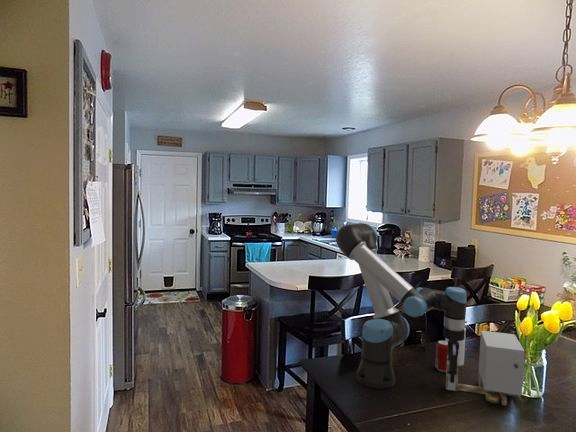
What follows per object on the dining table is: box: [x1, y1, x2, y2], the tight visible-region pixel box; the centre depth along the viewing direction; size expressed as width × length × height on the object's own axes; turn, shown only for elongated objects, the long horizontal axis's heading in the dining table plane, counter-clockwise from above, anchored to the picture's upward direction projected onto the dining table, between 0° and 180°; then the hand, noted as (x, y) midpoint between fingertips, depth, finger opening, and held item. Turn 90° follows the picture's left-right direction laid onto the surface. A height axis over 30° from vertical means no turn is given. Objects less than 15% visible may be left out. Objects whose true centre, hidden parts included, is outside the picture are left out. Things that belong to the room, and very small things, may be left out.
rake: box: [445, 361, 508, 407], centre depth 158 cm, size 20×10×10 cm, turn 72°
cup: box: [444, 327, 467, 367], centre depth 188 cm, size 8×8×16 cm
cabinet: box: [477, 330, 525, 397], centre depth 156 cm, size 12×19×22 cm, turn 161°
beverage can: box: [434, 340, 448, 373], centre depth 179 cm, size 6×6×12 cm
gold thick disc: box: [485, 392, 501, 404], centre depth 155 cm, size 5×5×2 cm
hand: (451, 386), depth 163 cm, fingers closed on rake, 4 cm apart
